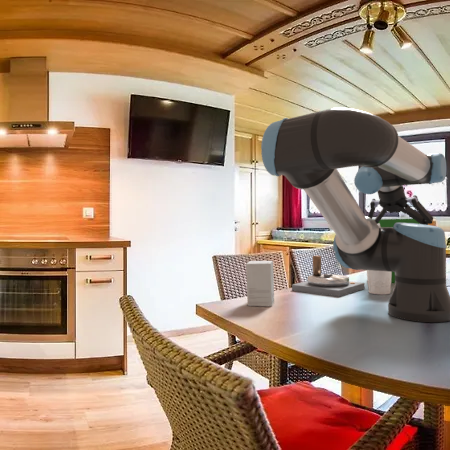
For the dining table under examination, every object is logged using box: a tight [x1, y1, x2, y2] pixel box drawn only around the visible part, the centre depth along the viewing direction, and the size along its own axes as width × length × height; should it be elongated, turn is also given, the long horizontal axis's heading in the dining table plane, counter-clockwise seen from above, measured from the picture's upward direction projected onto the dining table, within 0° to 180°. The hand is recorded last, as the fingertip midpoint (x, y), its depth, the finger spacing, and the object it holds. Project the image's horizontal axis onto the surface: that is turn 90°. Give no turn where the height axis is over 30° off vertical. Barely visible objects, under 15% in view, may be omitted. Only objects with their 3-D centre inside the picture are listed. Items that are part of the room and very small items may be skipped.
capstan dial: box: [307, 255, 350, 286], centre depth 136 cm, size 16×14×9 cm
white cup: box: [366, 270, 392, 295], centre depth 129 cm, size 8×8×10 cm
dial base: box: [291, 280, 366, 298], centre depth 136 cm, size 18×18×2 cm
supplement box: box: [245, 260, 275, 307], centre depth 116 cm, size 7×7×13 cm
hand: (402, 241), depth 130 cm, fingers open, 13 cm apart
